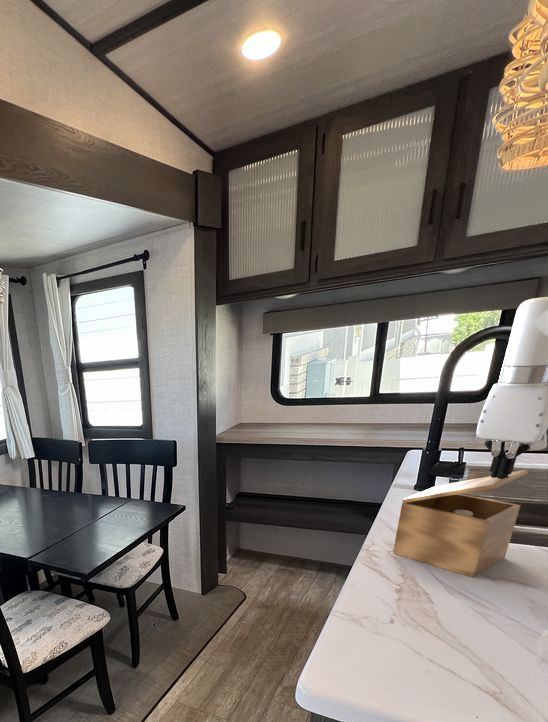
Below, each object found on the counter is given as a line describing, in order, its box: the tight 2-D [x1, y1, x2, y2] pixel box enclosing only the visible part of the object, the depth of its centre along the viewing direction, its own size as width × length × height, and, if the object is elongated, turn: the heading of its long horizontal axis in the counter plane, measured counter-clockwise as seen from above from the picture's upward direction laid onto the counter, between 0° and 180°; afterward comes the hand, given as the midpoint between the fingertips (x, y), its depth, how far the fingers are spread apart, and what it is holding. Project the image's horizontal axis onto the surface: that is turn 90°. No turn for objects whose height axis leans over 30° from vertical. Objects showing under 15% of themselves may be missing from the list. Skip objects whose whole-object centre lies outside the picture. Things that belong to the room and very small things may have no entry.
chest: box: [392, 493, 521, 578], centre depth 99 cm, size 16×14×12 cm
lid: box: [401, 469, 529, 503], centre depth 95 cm, size 16×14×1 cm
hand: (499, 476), depth 90 cm, fingers closed
